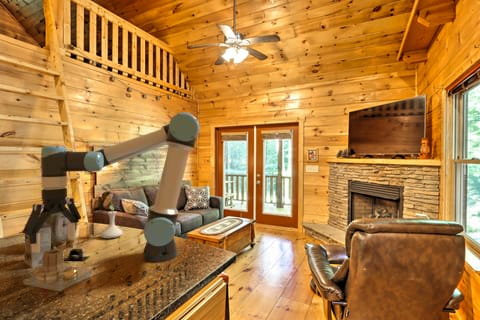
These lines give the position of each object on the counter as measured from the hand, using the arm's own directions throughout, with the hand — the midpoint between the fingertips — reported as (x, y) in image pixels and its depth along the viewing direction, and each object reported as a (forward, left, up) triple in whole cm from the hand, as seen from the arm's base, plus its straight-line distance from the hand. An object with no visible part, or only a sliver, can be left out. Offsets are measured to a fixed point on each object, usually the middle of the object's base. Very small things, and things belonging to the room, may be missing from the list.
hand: (55, 245), depth 91 cm
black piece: (+7, -15, -13) cm, 21 cm away
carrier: (-3, 0, -12) cm, 12 cm away
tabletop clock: (+28, -25, -12) cm, 40 cm away
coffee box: (+18, -8, -12) cm, 23 cm away
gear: (0, 0, -11) cm, 10 cm away
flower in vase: (+13, -44, -12) cm, 47 cm away
